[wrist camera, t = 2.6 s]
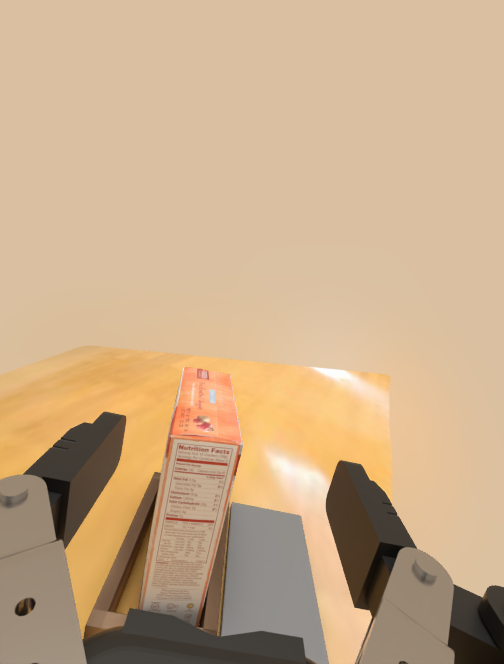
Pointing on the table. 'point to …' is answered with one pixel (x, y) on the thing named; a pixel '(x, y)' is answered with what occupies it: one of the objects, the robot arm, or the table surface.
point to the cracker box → (192, 495)
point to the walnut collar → (122, 566)
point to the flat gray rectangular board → (270, 579)
